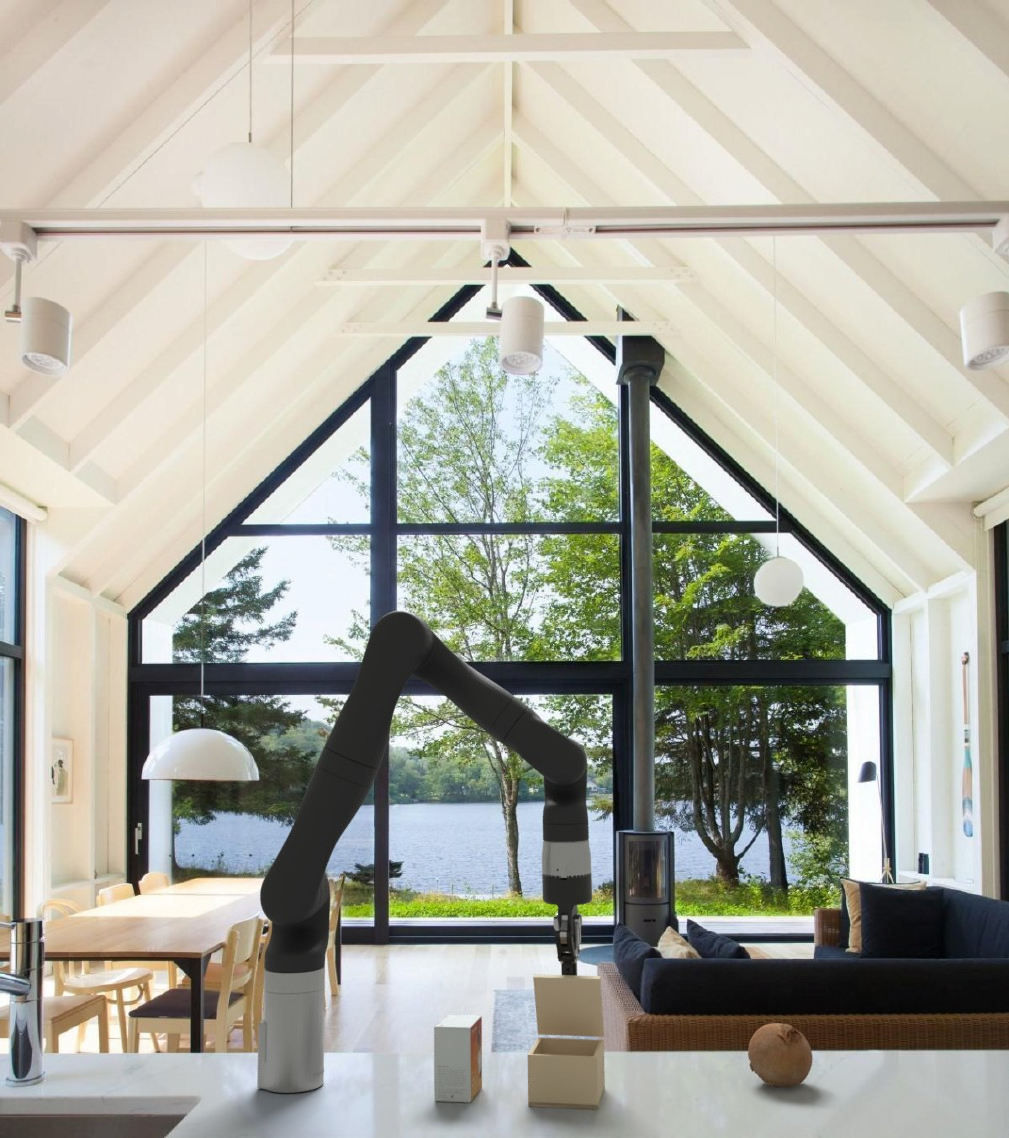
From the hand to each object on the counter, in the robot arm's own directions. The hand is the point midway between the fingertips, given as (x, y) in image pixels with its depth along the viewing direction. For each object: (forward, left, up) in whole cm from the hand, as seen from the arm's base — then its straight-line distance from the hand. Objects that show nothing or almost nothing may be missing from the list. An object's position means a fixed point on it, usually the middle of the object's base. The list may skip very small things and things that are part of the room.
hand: (569, 988), depth 180 cm
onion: (+31, +7, -15) cm, 35 cm away
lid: (0, -1, -3) cm, 3 cm away
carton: (0, -4, -15) cm, 15 cm away
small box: (-16, -5, -15) cm, 22 cm away
